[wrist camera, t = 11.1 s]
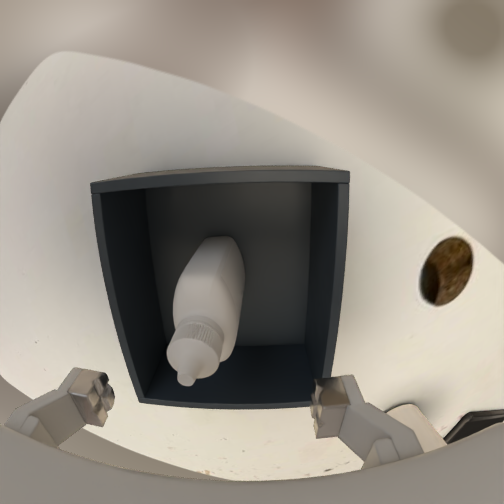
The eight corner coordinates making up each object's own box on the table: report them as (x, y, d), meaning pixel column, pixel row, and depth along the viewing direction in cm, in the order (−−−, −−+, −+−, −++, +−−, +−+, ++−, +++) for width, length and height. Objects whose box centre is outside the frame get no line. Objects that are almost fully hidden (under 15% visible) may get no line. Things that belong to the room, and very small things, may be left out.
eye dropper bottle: (265, 250, 22) (264, 353, 10) (234, 310, 24) (211, 431, 12) (210, 225, 21) (152, 305, 10) (183, 288, 23) (125, 396, 12)
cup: (402, 441, 31) (430, 511, 19) (344, 442, 30) (365, 526, 18) (443, 391, 28) (488, 464, 16) (385, 388, 27) (428, 482, 15)
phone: (470, 416, 29) (510, 413, 31) (467, 412, 30) (507, 409, 32) (439, 450, 31) (484, 442, 33) (436, 445, 32) (481, 439, 34)
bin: (139, 173, 21) (89, 183, 14) (317, 166, 21) (349, 171, 13) (163, 345, 26) (139, 402, 18) (309, 344, 25) (325, 405, 18)
